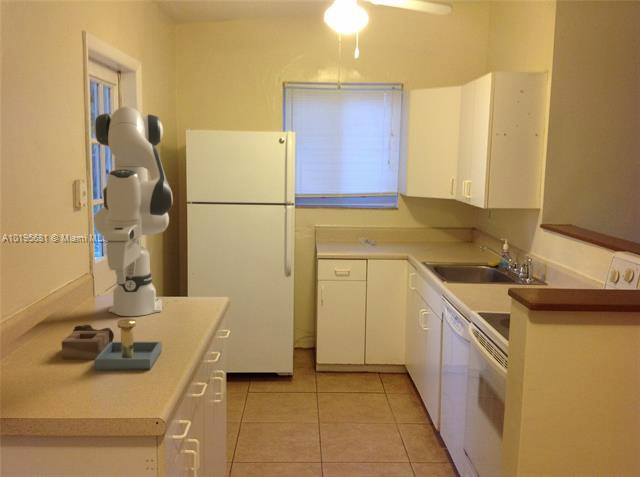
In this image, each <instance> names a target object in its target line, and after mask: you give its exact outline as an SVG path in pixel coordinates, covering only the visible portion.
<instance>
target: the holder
mask: <svg viewBox="0 0 640 477" xmlns="http://www.w3.org/2000/svg"><path fill="white" fill-rule="evenodd" d="M108 344H109V331H74V332H73V331H72V332H71V333H70V334H69V335H68V336H67V337H65V338H64V339H63V340H62V341H61V358H62V360H93V359H94V360H95V358H96V357H97V356H98V355H99V354H100V353H101V352H102V351H103V350H104V349H105V347H106V346H107V345H108Z"/></svg>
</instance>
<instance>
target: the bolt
mask: <svg viewBox="0 0 640 477" xmlns="http://www.w3.org/2000/svg"><path fill="white" fill-rule="evenodd" d="M74 331H109V343H110V342H114V338H115V334H114V332H113V331H112V329H111V328H110V327H104V328H101V329H96V328H93V326H92V325H91V324H83V325H76V326H74V329H72V333H73V332H74Z"/></svg>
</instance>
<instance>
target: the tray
mask: <svg viewBox="0 0 640 477" xmlns="http://www.w3.org/2000/svg"><path fill="white" fill-rule="evenodd" d="M162 344H163V343H162V341H133V348H134V358H122V355H121V341H112V342H110V343H109V344H108V345H107V346H106V347H105V349H104V350H103V351H102V352H101V353H100V354H99V355H98V356H97V357H96V358H95V359H94V371H151V370H152V368H153V366H154V365H155V363H156V362H157V360H158V359H159V357H160V355H161V353H162V351H163V350H162Z"/></svg>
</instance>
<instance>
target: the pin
mask: <svg viewBox="0 0 640 477" xmlns="http://www.w3.org/2000/svg"><path fill="white" fill-rule="evenodd" d="M136 326H137V321H136V319H133V318H124V319H120V320H118V321H117V328H119V329H120V342H121V355H122V358H134V348H133V342H134V327H136Z"/></svg>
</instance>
